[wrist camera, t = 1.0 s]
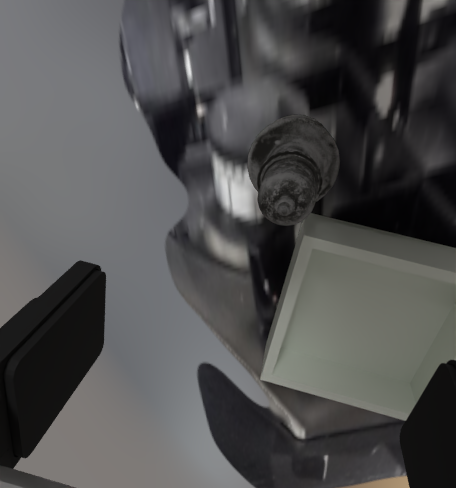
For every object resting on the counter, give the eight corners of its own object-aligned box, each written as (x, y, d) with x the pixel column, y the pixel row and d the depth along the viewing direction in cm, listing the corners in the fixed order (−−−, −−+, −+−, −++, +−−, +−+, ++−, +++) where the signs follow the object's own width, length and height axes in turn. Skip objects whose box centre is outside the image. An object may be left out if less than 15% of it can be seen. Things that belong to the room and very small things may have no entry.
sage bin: (305, 211, 30) (303, 235, 27) (486, 255, 29) (513, 287, 25) (265, 344, 37) (260, 379, 33) (413, 385, 35) (426, 426, 32)
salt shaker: (336, 190, 29) (348, 269, 19) (256, 192, 30) (226, 268, 20) (338, 107, 27) (353, 143, 16) (252, 113, 28) (214, 150, 17)
